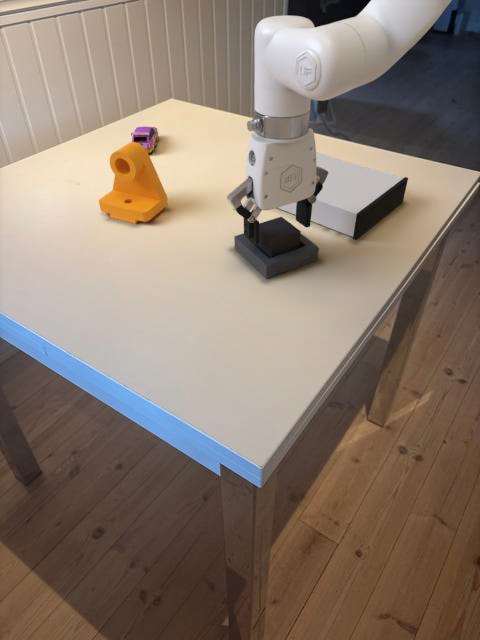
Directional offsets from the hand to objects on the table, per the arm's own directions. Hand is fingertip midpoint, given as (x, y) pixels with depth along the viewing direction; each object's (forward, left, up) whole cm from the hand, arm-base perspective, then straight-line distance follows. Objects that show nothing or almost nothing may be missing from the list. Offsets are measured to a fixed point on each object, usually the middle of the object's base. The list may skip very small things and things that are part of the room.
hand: (277, 231), depth 78 cm
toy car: (+1, -55, -5) cm, 56 cm away
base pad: (0, 0, -4) cm, 4 cm away
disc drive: (-19, -10, -5) cm, 22 cm away
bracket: (+15, -26, -5) cm, 31 cm away
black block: (0, 0, -3) cm, 3 cm away
